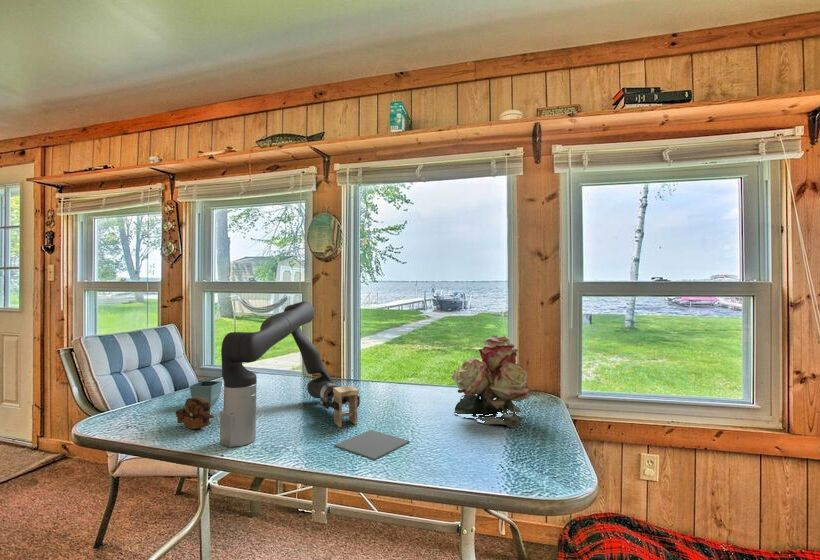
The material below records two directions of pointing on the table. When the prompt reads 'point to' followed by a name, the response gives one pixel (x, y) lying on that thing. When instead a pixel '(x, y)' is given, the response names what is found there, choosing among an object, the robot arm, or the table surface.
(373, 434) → the charcoal mat
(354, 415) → the pine stool
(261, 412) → the table surface
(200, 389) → the flower pot
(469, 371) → the rose bouquet
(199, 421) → the wooden carving
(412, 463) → the table surface
